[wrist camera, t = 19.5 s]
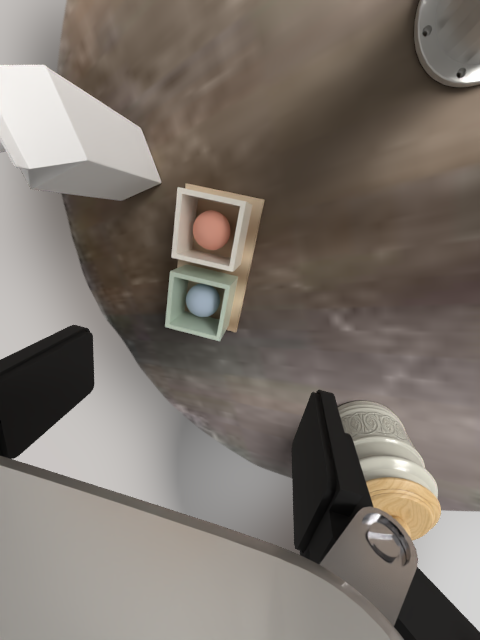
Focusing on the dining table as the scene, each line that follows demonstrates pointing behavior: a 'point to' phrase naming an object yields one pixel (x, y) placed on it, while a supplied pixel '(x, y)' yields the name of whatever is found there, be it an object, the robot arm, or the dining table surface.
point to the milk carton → (70, 137)
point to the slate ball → (202, 300)
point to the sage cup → (177, 301)
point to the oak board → (229, 246)
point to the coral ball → (211, 230)
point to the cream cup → (184, 234)
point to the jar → (392, 467)
